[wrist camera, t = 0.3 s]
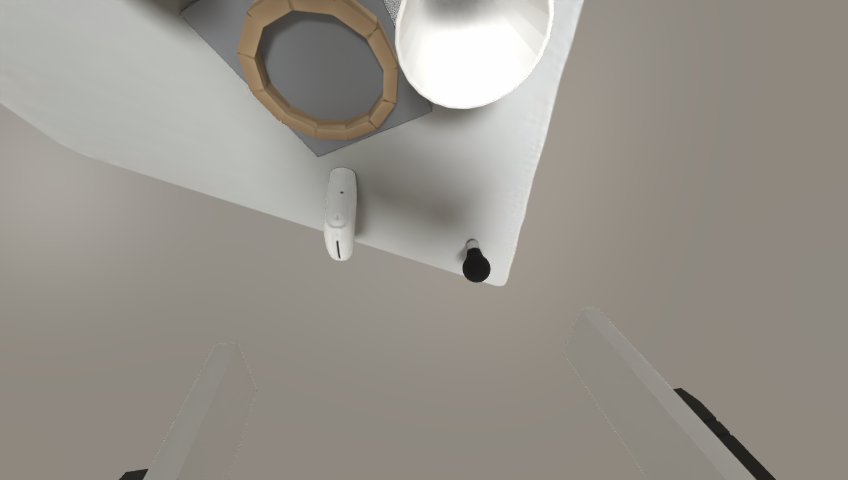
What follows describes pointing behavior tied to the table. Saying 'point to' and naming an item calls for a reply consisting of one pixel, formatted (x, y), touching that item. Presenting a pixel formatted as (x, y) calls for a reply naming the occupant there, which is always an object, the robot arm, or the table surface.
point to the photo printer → (340, 213)
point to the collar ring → (263, 11)
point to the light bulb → (475, 263)
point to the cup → (470, 47)
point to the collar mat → (313, 63)
